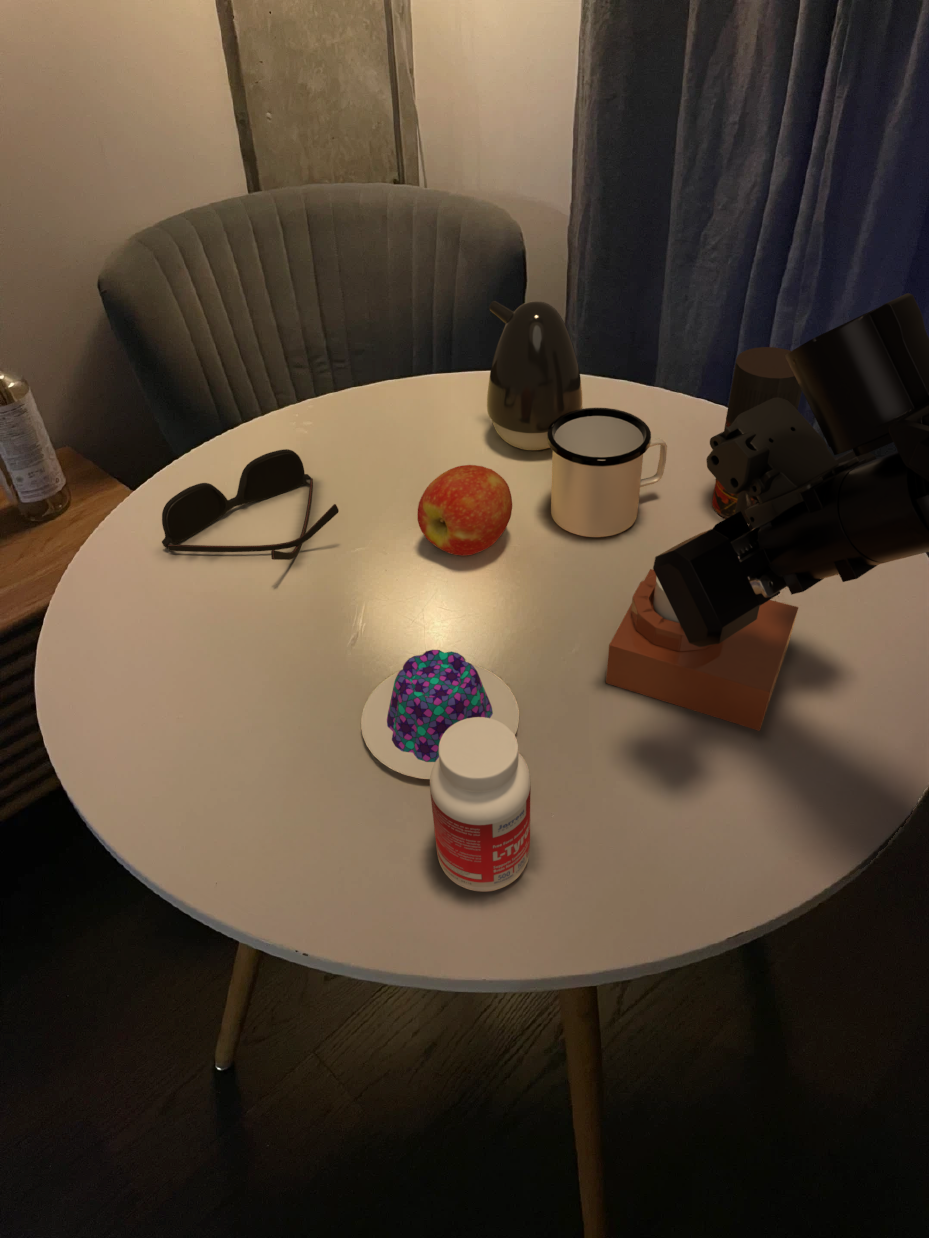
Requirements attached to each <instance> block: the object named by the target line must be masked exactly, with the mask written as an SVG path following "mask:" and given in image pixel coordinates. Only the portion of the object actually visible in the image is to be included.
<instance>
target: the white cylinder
mask: <svg viewBox="0 0 929 1238" xmlns="http://www.w3.org/2000/svg"><path fill="white" fill-rule="evenodd" d="M653 606H654V609H655V611H656V612H657V613H658V614H659V615H660V616H661V617H663V618H664V619H667V620H670V621H674V622H677V623H679V621H678V619H677V617H676V615H675V613H674V611H673V609H672V607H671V605H670V602H669V600H668V598H667V596H666V594H665V592H664V590H663V588H662V586H661V584H660V582H659V580H658V578H657V576H656V582H655V590H654V598H653Z"/></svg>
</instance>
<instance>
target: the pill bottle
mask: <svg viewBox="0 0 929 1238" xmlns="http://www.w3.org/2000/svg"><path fill="white" fill-rule="evenodd" d="M531 783H532V781H531V772H530V769H529V766H528V764H527V761H526V760H525V758H524V757H523V756H522V754H521V753H520V752H519V743H518V739H517V737H516V734H515V735H514V733H513V732H512V731H511V730H510V729H509V728H508V727H507V726H506V725H504V724H503V723H501V722H499V721H497V720H494V719H490V718H485V717H473V718H467V719H464V720H461V721H459V722H457V723H455V724H453V725H452V726H451V727H449V728H448V729H447V730H446V731H445V733H444V734H443V736H442V737H441V740H440V743H439V758H438V759H437V760H436V762H435V764H434V766H433V768H432V771H431V775H430V779H429V790H430V791H429V792H430V801H431V810H432V818H433V827H434V838H435V846H436V848H435V849H436V854H437V859H438V862H439V865H440V867H441V869H442V871H443V872H444V874H445V875H446V877H448V879H450V881H452V882H453V883H454V884H456V885H457V886H459V887H461V888H464V889H467V890H470V891H474V892H493V891H497V890H500V889H502V888H505V887H507V886H509V885H511V884H512V883H513V882H515V881H516V880H517V879H518V878H519V877H520V876H521V875H522V873H523V872H524V870H525V869H526V867H527V864H528V861H529V858H530V852H531V850H530V849H531V791H532V790H531V787H532V786H531Z"/></svg>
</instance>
